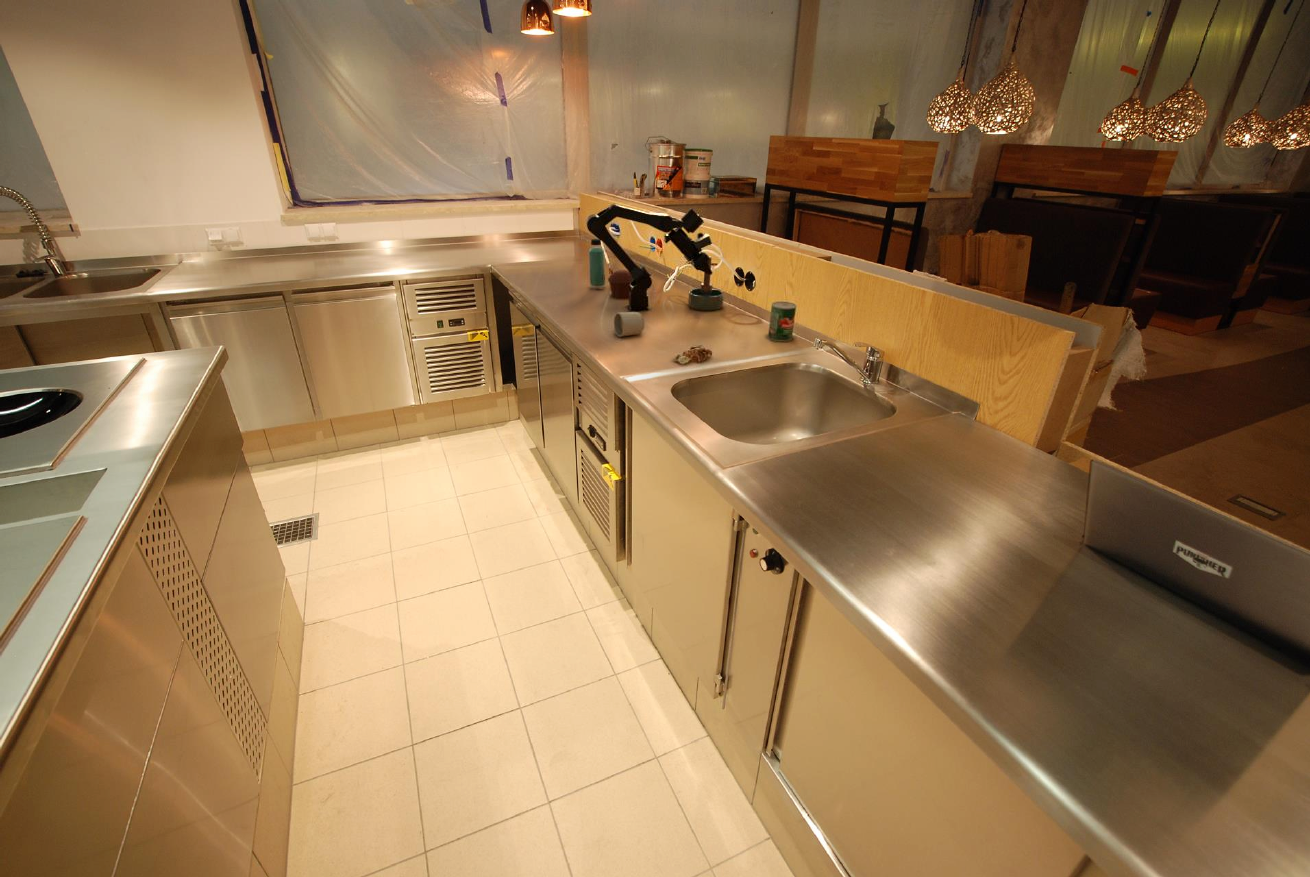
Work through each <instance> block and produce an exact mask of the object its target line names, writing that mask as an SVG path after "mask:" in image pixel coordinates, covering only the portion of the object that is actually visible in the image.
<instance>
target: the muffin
mask: <svg viewBox="0 0 1310 877" xmlns="http://www.w3.org/2000/svg"><path fill="white" fill-rule="evenodd" d="M633 280H634V279H633V278H632V276H631V274H630V272H629V271H628V270H627V269H619V270H615V271H614V272H612V273H611V274H610V275H609V277H608V278H607V281H608V282H609V287H610V288H609V289H610V293H611V294H610V295H611V296H612V297H613V298H614V299H619V300H621V299H622V300H626V299H627V300H628V299H629V291H631V289H630V286H629V284H630V283H631V282H632V281H633Z"/></svg>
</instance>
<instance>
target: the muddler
mask: <svg viewBox="0 0 1310 877" xmlns="http://www.w3.org/2000/svg"><path fill="white" fill-rule="evenodd" d="M709 257H710V259H709V260H708V261H707V263H708V265H709V267H710V269H711V270H712V256H709ZM700 288H701V290H700V292H701V293H712V289H713V283H711V275H709V274H707V273H705V272H703V282H702V283H700Z"/></svg>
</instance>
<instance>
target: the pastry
mask: <svg viewBox="0 0 1310 877" xmlns="http://www.w3.org/2000/svg"><path fill="white" fill-rule="evenodd" d="M708 356H710V357H713V352H712V350H711V349H707V348H706V347H705V346H704V345H703V344H699V345H695V346H691V347H690V348H689V349H688V350H687V349H686V350H684V351H683V352H682V354H677V355H676V356H675V359H674V361H675V362H679V364H681V365H685V364H687V363H689V361H690V360H696V359H697V361H698V363H702V361H706V360H707V357H708Z"/></svg>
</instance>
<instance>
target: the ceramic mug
mask: <svg viewBox="0 0 1310 877" xmlns="http://www.w3.org/2000/svg"><path fill="white" fill-rule="evenodd" d="M613 326H614V332H615V334H616V336H618V337H619V338H621V337H628V336H633V335H634V336H635V335H639V334H641V333H643V331H644V328H645V320H644V317H643V315H642V314H641V313H640V312H638V311H637V312H636V311H630V312H629V311H628V312H616V313H615V315H614V318H613Z"/></svg>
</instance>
